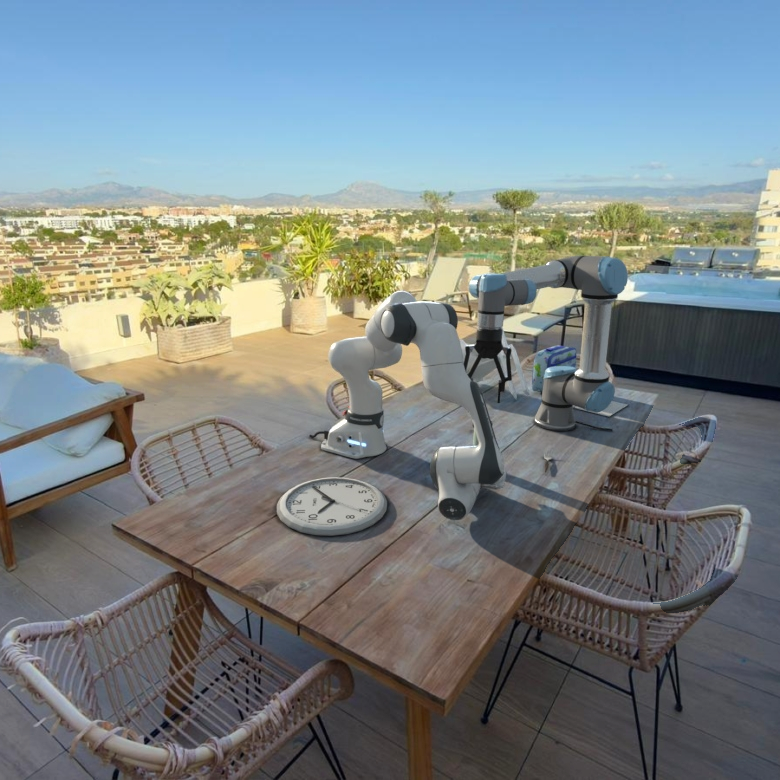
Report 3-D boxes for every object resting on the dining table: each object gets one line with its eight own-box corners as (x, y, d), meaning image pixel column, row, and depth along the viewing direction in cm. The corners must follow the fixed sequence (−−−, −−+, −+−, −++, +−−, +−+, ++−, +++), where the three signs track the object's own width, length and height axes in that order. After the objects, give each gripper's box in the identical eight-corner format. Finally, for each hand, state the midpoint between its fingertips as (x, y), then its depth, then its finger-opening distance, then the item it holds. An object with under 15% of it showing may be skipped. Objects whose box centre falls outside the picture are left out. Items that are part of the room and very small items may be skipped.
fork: (540, 473, 163) (541, 467, 163) (544, 453, 178) (545, 448, 177) (549, 474, 162) (550, 468, 162) (552, 454, 177) (553, 449, 176)
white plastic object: (461, 429, 252) (437, 405, 227) (444, 352, 274) (420, 323, 250) (535, 404, 240) (518, 377, 215) (510, 326, 262) (492, 293, 237)
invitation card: (608, 416, 214) (573, 407, 224) (608, 416, 214) (573, 408, 224) (628, 404, 229) (594, 396, 238) (628, 405, 229) (594, 397, 238)
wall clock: (392, 527, 129) (268, 531, 127) (391, 533, 130) (269, 537, 127) (383, 473, 158) (282, 475, 155) (383, 478, 158) (282, 480, 156)
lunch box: (548, 398, 236) (553, 353, 229) (527, 393, 243) (531, 349, 237) (575, 387, 253) (581, 344, 247) (555, 382, 260) (560, 341, 254)
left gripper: (504, 478, 140) (510, 458, 153) (430, 466, 147) (442, 447, 159) (502, 499, 142) (508, 477, 154) (429, 486, 148) (441, 466, 161)
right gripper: (525, 326, 156) (518, 399, 162) (455, 323, 159) (451, 394, 166) (526, 331, 149) (519, 407, 155) (453, 327, 152) (449, 402, 159)
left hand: (474, 462), depth 157 cm, fingers open, 8 cm apart
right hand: (484, 400), depth 161 cm, fingers open, 8 cm apart
